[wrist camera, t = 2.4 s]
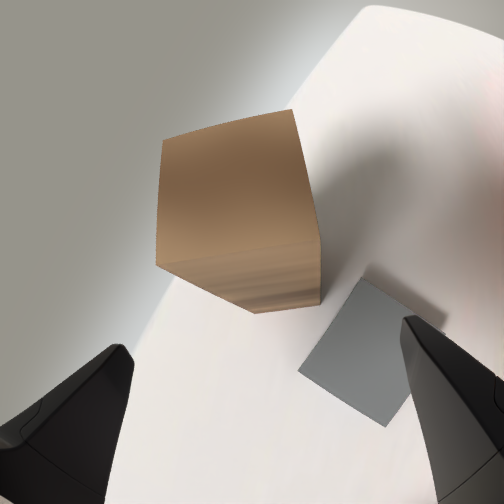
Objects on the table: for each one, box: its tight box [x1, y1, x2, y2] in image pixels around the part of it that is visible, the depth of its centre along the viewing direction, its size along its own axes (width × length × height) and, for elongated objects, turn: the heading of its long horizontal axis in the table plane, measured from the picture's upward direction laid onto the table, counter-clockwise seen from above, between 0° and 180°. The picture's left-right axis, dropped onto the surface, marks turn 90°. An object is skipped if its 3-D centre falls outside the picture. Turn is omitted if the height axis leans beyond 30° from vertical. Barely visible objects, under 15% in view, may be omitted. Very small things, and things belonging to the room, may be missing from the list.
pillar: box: [156, 109, 321, 314], centre depth 14 cm, size 4×4×13 cm
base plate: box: [298, 278, 445, 427], centre depth 17 cm, size 7×7×2 cm
